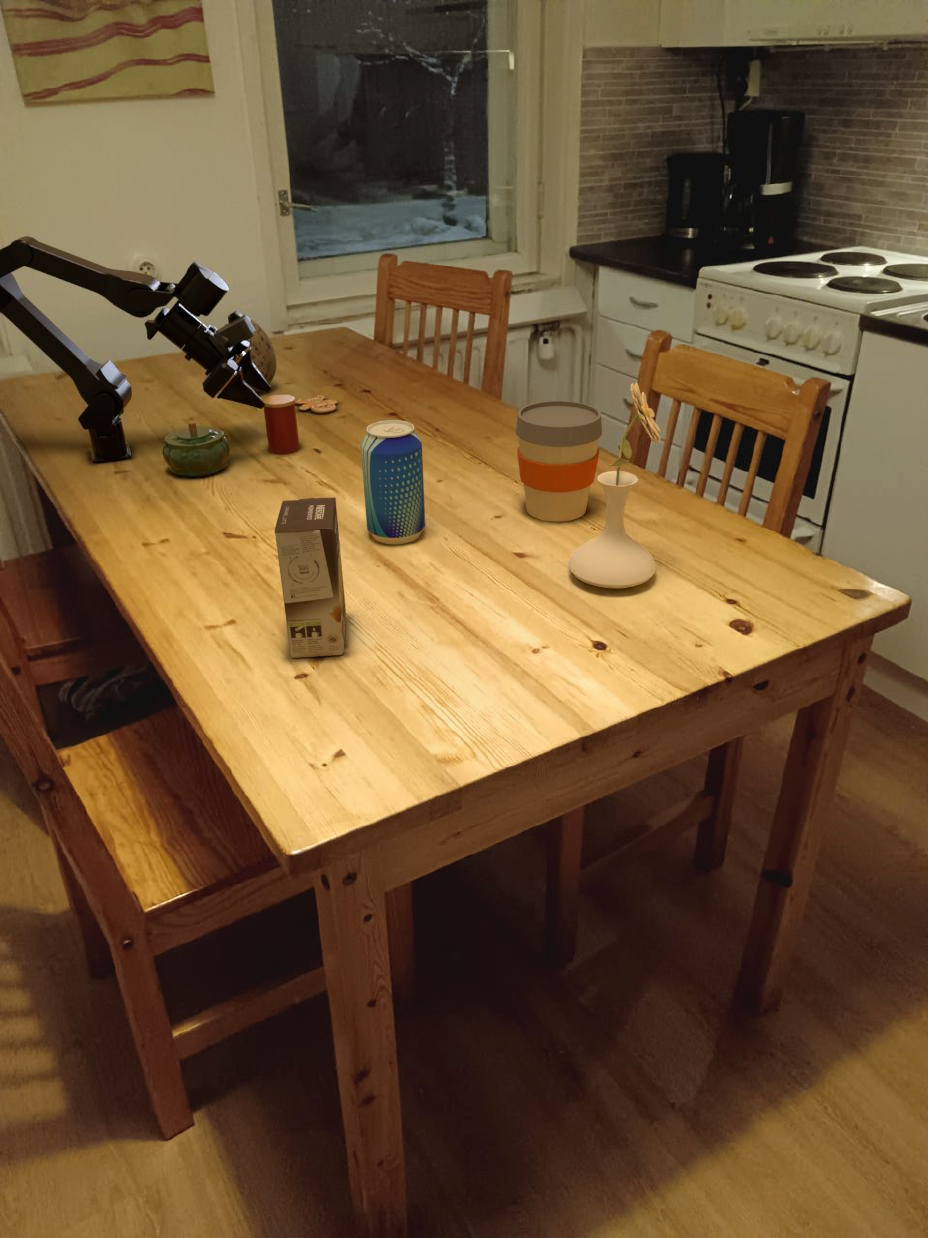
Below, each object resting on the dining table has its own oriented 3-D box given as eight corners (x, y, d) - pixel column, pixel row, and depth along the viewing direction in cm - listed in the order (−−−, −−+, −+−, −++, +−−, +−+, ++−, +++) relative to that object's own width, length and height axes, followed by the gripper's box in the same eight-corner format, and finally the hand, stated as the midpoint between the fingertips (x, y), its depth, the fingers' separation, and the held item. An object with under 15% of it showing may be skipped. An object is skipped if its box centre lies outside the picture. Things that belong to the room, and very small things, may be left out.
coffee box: (345, 655, 111) (333, 529, 103) (289, 659, 110) (273, 532, 102) (347, 616, 119) (336, 495, 111) (295, 619, 118) (280, 498, 110)
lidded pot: (163, 462, 166) (154, 417, 162) (227, 453, 169) (220, 408, 165) (169, 484, 157) (160, 437, 153) (237, 474, 160) (230, 428, 156)
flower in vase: (634, 605, 120) (649, 410, 107) (552, 583, 125) (558, 395, 112) (672, 564, 129) (691, 380, 117) (595, 545, 134) (605, 368, 122)
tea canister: (265, 445, 172) (259, 396, 168) (296, 441, 174) (290, 392, 169) (271, 456, 168) (265, 405, 163) (303, 451, 169) (297, 401, 165)
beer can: (381, 551, 134) (373, 442, 126) (358, 529, 141) (350, 424, 133) (435, 538, 137) (431, 431, 129) (410, 517, 144) (405, 414, 136)
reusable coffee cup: (552, 486, 153) (554, 394, 146) (614, 508, 145) (621, 412, 138) (497, 510, 146) (497, 414, 138) (560, 534, 138) (564, 434, 130)
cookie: (325, 392, 196) (347, 404, 189) (325, 396, 197) (347, 408, 189) (287, 399, 192) (309, 411, 185) (288, 404, 193) (309, 416, 185)
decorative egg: (254, 380, 208) (245, 309, 200) (290, 388, 202) (282, 316, 194) (216, 393, 200) (205, 320, 192) (252, 402, 195) (242, 327, 187)
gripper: (211, 312, 149) (291, 379, 155) (229, 288, 165) (300, 350, 171) (169, 365, 153) (248, 428, 159) (191, 336, 169) (262, 395, 175)
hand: (266, 398), depth 166 cm, fingers open, 9 cm apart
